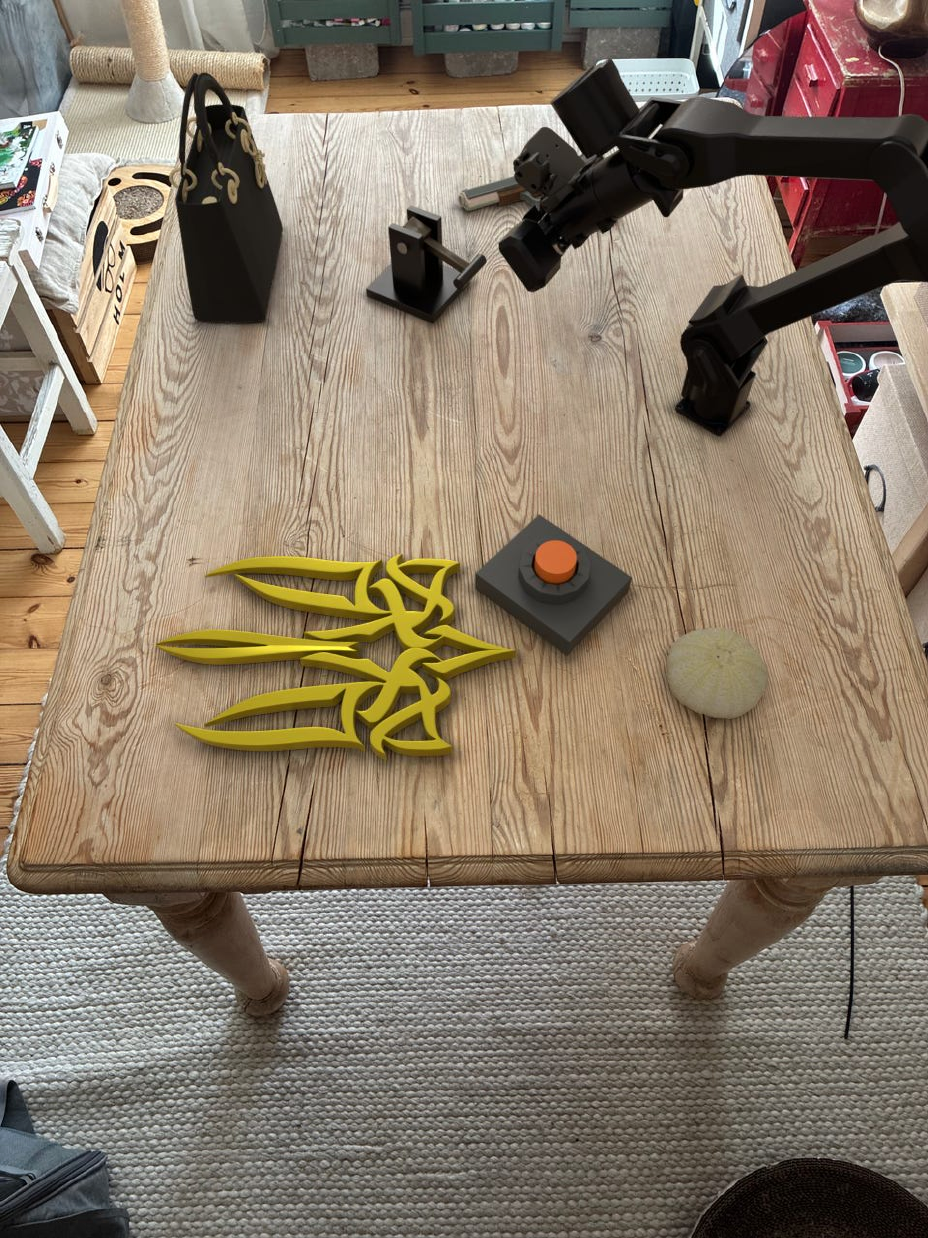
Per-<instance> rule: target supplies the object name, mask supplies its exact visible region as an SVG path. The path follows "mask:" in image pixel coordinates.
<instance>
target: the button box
mask: <svg viewBox="0 0 928 1238" xmlns="http://www.w3.org/2000/svg"><path fill="white" fill-rule="evenodd" d="M553 540H558V541H563V542H565V543H567V544H569V545H570V546H571V547H572V548H573V549H574V550H575V552H576V555H577V562H576V568H575V572H574V575H573V576H572V577H571V578H570V579H569V580H568V581H566V582H563V583H560V584H552V583H548V582H546V581H544V580H542V579H541V578H540V577H539V576H538V575H537V573H536V571H535V556H536V551H537V549H538V548H539V547H540V546H541V545H542V544H544V543H545V542H548V541H553ZM474 577H475V579H474V580H475V581H474V583H475V585H474V586H475V588H474V589H476V590H477V591H478V592H480V593H481V594H482V595H484V596H485V597H487V598H488V599H489V600H491V601H492V602H493V603H495V604H496V605H497V606H498V607H500V608H501V609H503V610H504V611H505V612H507V613H508V614H510V615H511V616H512V617H514V618H515V619H516V620H518V621H519V622H520V623H522V624H523V625H524V626H526V627H527V628H528V629H530V630H531V631H532V632H534V633H535V634H536V635H538V636H539V637H541V638H542V639H543V640H545V641H546V642H547V643H549V644H550V645H552V646H553V647H554V648H555V649H557V650H558V651H559V652H561V653H562V654H564V655H565V656H567V657H568V656H569V655H570V654H571V653H572V652H573V651H574V650H575V649H576V648H577V647H578V645H580V644H581V643H582V642H583V640H584V639H585V638H586V637H588V635H589V634H590V633H591V632H592V631H593V630H594V629H595V627H597V626H598V625H599V624H600V623H601V622H602V621H603V620H604V619H605V618H606V617H607V616H608V614H609V613H611V611H612V610H614V608H615V607H616V606H617V605H618V604H619V603H620V602H621V601H622V600H623V599H624V597H626V596H627V595H628V593H629V592H630V588H631V584H632V580H633V577H632V576H631V575H629V574H628V573H627V572H625V571H624V570H622V569H621V568H619V567H617V566H616V565H615V564H613V563H612V562H610V561H609V560H607V559H606V558H604V557H603V556H601V555H600V554H598V553H597V552H596V551H594V550H593V549H592V548H590V547H588V546H587V545H585V544H583V543H582V542H581V541H579V540H578V539H576V538H575V537H573V536H572V535H570V534H569V533H567V532H566V531H565V530H563V529H562V528H560V527H559V526H557V525H556V524H554V523H553V522H552V521H550V520H549V519H547V518H545V517H544V516H542V515H541V514H537V515H536V517H534V518H533V519H532V520H531V521H530V522H529V523H528V524H527V525H525V527H524V528H523V529H522V530H520V531H518V533H517V534H516V535H515V536H514V537H513V538H512V539H511V540H509V541H508V542H507V543H506V544H505V545H504V546H503V547H502V548H500V550H498V552H497V553H495V554H494V555H493V557H491V558H490V559H489V560H488V561H487V562H486V563H485V564H484V565H482V567H481V568H479V569H478V570H477V571H476V572H475V575H474Z"/></svg>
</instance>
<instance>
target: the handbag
mask: <svg viewBox="0 0 928 1238" xmlns="http://www.w3.org/2000/svg"><path fill="white" fill-rule="evenodd" d="M208 90H210V91H211V92H213V93H214V94H215V95H216V96H217V97H218V99H219V101H220V103H221V104H219V103H218V104H217V103H216V104H209V105H206V95H207V91H208ZM192 98H193V110H194V114H195V116H193V117H190V118H189V113H190V112H189V111H190V106H191V100H192ZM181 109H182V110H181V117H180V126H179V135H178V139H179V141H178V160H179V163H180V166H179V167H175V168H173V169H172V170H171V171H170V172H169V174H168V176H169V177H168V178H169V183H170V184H171V185H172V186H173V188H175V189H177V191H176V195H175V198H174V202H175V208H176V215H177V221H178V227H179V228H178V229H179V235H180V240H181V246H182V247H181V248H182V254H183V261H184V266H185V274H186V280H187V281H186V282H187V287H188V295H189V298H190V304H191V311H192V314H193V317H194V319H195V320H196V321H199V322H207V323H208V322H209V323H230V324H231V323H234V324H235V323H236V324H240V323H258V322H262V321H264V320H265V319H266V317H267V312H268V307H269V303H270V298H271V292H272V289H273V287H272V286H273V282H274V278H275V274H276V267H277V263H278V257H279V252H280V246H281V241H282V236H283V229H284V228H283V223H282V220H281V216H280V213H279V210H278V207H277V203H276V201H275V197H274V195H273V191H272V188H271V186H270V183H269V179H268V177H267V173H266V164H265V163H264V159H263V158H265V157H266V153H265V152H262V150H261V149H258V146H257V144H256V140H255V137H254V135H253V130H252V127H251V125H250V122H249V119H248V116H247V113H246V110H245V107H244V106H241V105H239V104H232V103H231V101H230V99H229V96H228V95H227V93H226V92H225V90H224V88H223V87H222V86H221V84H220V83H219V82H218V81H217V80H216V78H215V77H214V76H213V75H211V74H210V73H208V72H200V73H197V72H193V73H192V74H191V77H190V78H189V79H188V81H187V85H186V87H185V93H184V96H183V101H182V108H181ZM194 122H195V126H196V128H195V131H194V134H193V132H192V131H191V130H190V124H191V123H194ZM187 135H188V137H189V138H191V139H192V141H191V144H190V147H189V152H188V154H187V157H186V150H187V149H186V148H187V146H186V145H187ZM176 173H179V175H180V180H179V184H177V182H176V181H175V179H174V176H175V174H176Z"/></svg>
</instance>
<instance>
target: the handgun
mask: <svg viewBox="0 0 928 1238" xmlns="http://www.w3.org/2000/svg"><path fill="white" fill-rule="evenodd" d="M542 195H543V194H541V193H539V192H537V193H536V194H530V193H529V192H528V191H527V190H525V189H524V188H523V187H522V186H521V185H520V184H518V183H517V182H516V181H515V178H514V175H513V176H509V177H505V178H503V179H499V180H495V181H492V182H489V183H485V184H481V185H477V186H474V187H471V188H465V189H463V190H462V191H460V193H459V195H458V204H459V205H460V207H461V208H463V209H465V210H466V211H467V212H468V213H470V212H472V211H476V210H479V209H483V208H486V207H489V206H493V205H496V204H497V205H498V206H499V207H502V206H507V205H509V204H513V203H517V202H521V201H526V202H527V203H528V204H529V205H531V206H533V205H534V204H535V206H536V207H537V208H539V207H540V198H535V197H537V196H542Z"/></svg>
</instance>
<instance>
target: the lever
mask: <svg viewBox="0 0 928 1238" xmlns="http://www.w3.org/2000/svg"><path fill="white" fill-rule="evenodd" d="M402 227H404V228H407V229H409V230H412V231H415V232H417V233H420V234H422V235H423V238H424V249H426V250H427V251H429V252H430V253H432V254H433V255H435V256H436V257H438V258H439V259H441V260H442V261H443V263H445V264H446V265H448V266H449V267H450V268H452V269H455V270H457V271H459V272H460V274H459V275H458V276H457V277H456V278H455V279H454V281H453V284H454V286H455V287H456V288H457V289H459V290H462V289H463V288H464V287H465V286H466V285H467V284H468V283H469V281H470V282H471V280H472V279H473V278H475V276H477V274H478V273H479V272H480V271H481V270H482V269H483V267H485V265H486V264H487V260H488V259H487V257H486V256H485V255H484V254H483V253H478V254H476V255H475V257H474V258H473V259H472V260H470V262H468V261H467V260H464V259H463V258H462V257H460V256H459V255H458V254H456V253H455V252H453V251H451V250H450V249H449V248H447V247H445V246H444V245H443V244H442V245H441V244H439V243H438V242H437V241H435V240H434V239H432V238H431V237H430V234H431V230H432V229H431V228H429V227H428V226H427V225H425V224H424V223H422V222H421V221H419V220H418V219H416V218H415V217H412V218H411V219H410V220H409V221H408V222H407V221H406V222H405V223H404V224H403V226H402Z"/></svg>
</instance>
